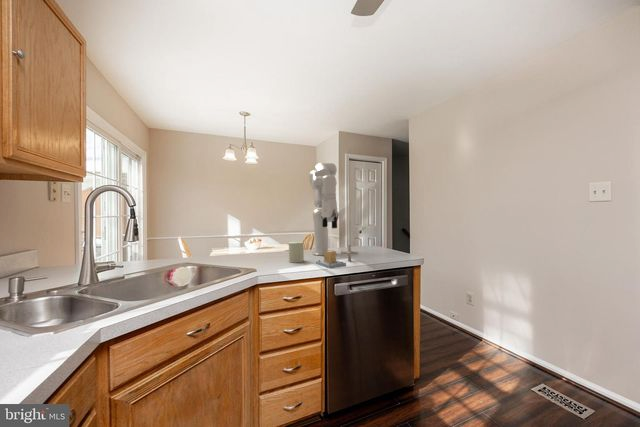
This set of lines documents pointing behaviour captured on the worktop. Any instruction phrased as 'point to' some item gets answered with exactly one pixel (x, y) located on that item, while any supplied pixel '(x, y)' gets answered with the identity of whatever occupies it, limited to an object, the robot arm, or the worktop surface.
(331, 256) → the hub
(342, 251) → the pipe connector
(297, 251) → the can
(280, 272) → the worktop surface
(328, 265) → the shaft stand
